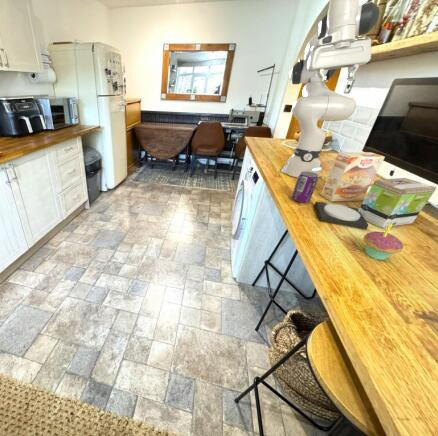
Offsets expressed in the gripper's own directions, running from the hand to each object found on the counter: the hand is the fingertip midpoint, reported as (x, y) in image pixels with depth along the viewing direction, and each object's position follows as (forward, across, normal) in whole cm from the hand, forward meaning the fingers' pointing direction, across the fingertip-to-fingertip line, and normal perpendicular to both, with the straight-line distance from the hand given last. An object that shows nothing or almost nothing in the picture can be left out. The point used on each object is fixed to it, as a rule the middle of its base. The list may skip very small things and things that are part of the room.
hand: (336, 80), depth 92 cm
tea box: (+53, -14, +12) cm, 56 cm away
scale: (+51, +2, +12) cm, 53 cm away
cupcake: (+58, +4, +35) cm, 68 cm away
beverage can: (+46, +10, 0) cm, 47 cm away
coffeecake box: (+47, -9, -6) cm, 48 cm away
